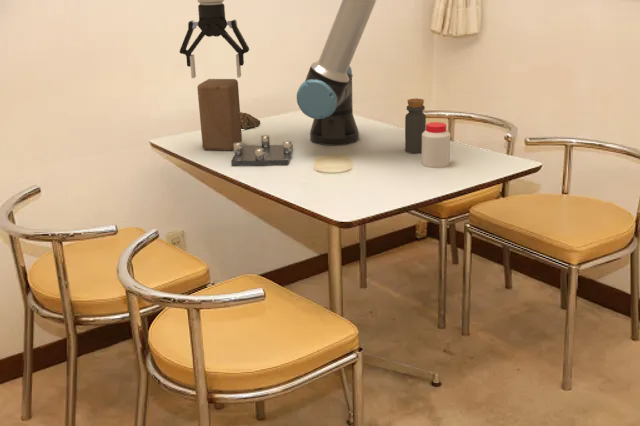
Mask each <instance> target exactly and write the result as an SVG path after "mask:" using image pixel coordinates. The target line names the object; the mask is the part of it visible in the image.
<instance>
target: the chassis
mask: <svg viewBox="0 0 640 426" xmlns="http://www.w3.org/2000/svg"><path fill="white" fill-rule="evenodd" d="M260 139H261V140H260V141H261V145H260V144H259V145H255V144H254V145H243V144H242V142H234V143H233V146H234V150H233V154H234V155H233V157H232V159H231V161H230V162H231V164H230V165H231V167H258V166H259V167H260V166H263V167H264V166H267V167H268V166H289V164H290V161H291V158H292V155H293V151H294V145H293V144H292V143H293V142H292V141H291V140H285V141H283V142H282V144H271V143H270V139H271V138H270V135H267V134H263V135H261V136H260Z"/></svg>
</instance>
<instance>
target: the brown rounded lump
mask: <svg viewBox="0 0 640 426" xmlns="http://www.w3.org/2000/svg"><path fill="white" fill-rule="evenodd" d="M240 118H241V129H245V130H248V129H251V128H252V129H255V128H254V127H258V126H259V127H260V125H261V120H259V119H258V118H257V117H255V116H254V115H251V114H250V113H247V112H243V111H242V112H241V111H240ZM259 124H260V125H259ZM259 127H258V128H259Z"/></svg>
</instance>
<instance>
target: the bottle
mask: <svg viewBox="0 0 640 426" xmlns="http://www.w3.org/2000/svg"><path fill="white" fill-rule="evenodd" d="M424 103H425V99H424V98H409V99H407V105H406V110H407V111H408V113H406V114H405V117H404V118H405V120H404V128H405V129H404V132H405V133H404V134H405V135H404V141H405V142H404V145H405V146H404V147H405V148H404V151H405V152H406V153H408V154H414V155H415V154H421V151H422V133H423V132H424V131H425V130H426V124H427V120H426V117H427V115H426V114H425V113H424V112H423V111H425V108H426V107H425V105H424Z"/></svg>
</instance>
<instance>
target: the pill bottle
mask: <svg viewBox="0 0 640 426" xmlns="http://www.w3.org/2000/svg"><path fill="white" fill-rule="evenodd" d="M420 154H421V161H420V162H421V163H420V164H421V166H424V167H426V168H435V169H436V168H437V169H438V168H445V167H447V166H449V165H450V164H451V133H450V131H449V130H447V123H444V122H440V121H437V122H436V121H435V122H434V121H433V122H426V130H425V131H424V132H423V133H422V151H421V153H420Z"/></svg>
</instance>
